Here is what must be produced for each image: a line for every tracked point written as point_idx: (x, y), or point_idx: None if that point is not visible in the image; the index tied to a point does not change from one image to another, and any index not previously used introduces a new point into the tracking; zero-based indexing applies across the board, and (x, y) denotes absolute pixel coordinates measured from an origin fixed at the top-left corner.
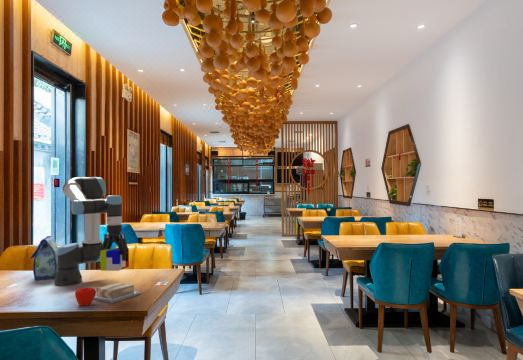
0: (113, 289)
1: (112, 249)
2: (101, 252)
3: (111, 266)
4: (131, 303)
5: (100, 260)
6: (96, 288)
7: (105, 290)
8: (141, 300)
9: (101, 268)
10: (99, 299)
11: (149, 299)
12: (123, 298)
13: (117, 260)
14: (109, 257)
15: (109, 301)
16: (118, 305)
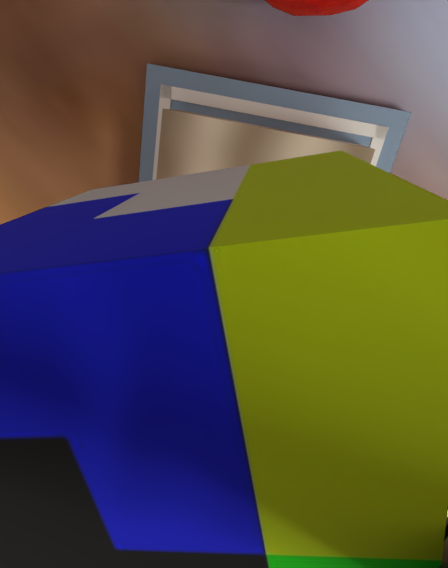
0: (195, 154)
1: (238, 500)
2: (402, 210)
3: (162, 185)
4: (30, 105)
5: (376, 167)
6: (374, 149)
7: (255, 126)
8: (28, 179)
9: (329, 154)
10: (286, 89)
11: (4, 210)
12: (142, 165)
13: (17, 221)
14: (148, 209)
15: (175, 69)
16: (68, 34)
